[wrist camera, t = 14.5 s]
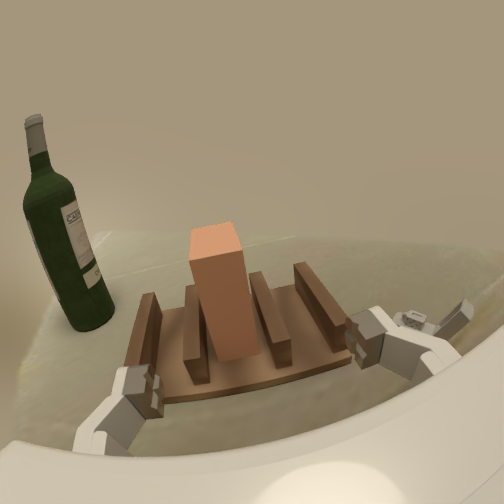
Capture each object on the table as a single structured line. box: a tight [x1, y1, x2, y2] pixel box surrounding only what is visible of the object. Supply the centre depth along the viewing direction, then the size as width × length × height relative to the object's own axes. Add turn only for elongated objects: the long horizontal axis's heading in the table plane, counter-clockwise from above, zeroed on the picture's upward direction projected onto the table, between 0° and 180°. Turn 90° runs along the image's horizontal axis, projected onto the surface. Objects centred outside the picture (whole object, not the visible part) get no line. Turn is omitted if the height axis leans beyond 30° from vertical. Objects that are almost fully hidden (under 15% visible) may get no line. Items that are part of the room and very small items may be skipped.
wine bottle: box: [23, 114, 114, 331], centre depth 29 cm, size 8×8×30 cm
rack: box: [124, 262, 352, 404], centre depth 27 cm, size 20×14×4 cm
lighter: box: [392, 298, 474, 341], centre depth 19 cm, size 7×2×8 cm, turn 42°
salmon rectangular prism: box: [189, 222, 260, 362], centre depth 25 cm, size 4×7×11 cm, turn 10°
